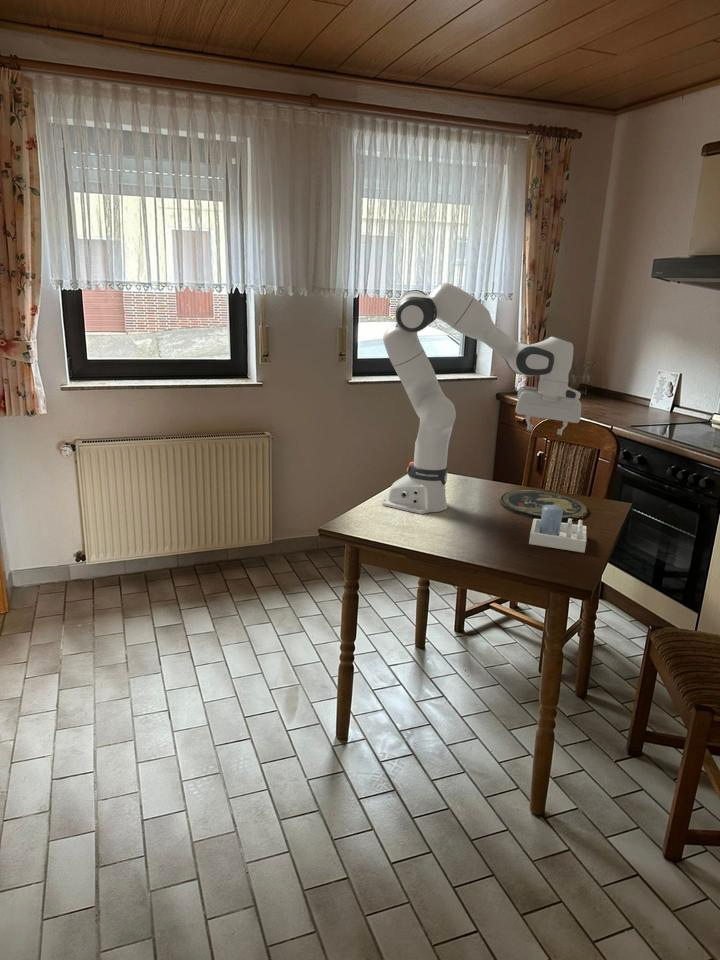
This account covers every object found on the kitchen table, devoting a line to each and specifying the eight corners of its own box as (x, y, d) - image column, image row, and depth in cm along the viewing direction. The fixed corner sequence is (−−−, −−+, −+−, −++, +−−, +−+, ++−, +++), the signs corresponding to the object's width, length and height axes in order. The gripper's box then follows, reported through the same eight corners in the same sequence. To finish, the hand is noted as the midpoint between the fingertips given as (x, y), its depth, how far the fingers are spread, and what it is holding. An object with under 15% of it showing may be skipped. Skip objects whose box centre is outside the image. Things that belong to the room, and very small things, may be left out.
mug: (538, 539, 202) (541, 511, 200) (539, 530, 209) (543, 503, 207) (558, 542, 201) (562, 514, 198) (559, 533, 208) (563, 506, 205)
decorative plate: (500, 511, 224) (500, 485, 252) (499, 516, 225) (499, 490, 253) (593, 522, 219) (582, 495, 247) (592, 527, 220) (582, 499, 248)
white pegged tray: (528, 543, 201) (531, 525, 199) (532, 528, 214) (534, 510, 212) (584, 552, 197) (587, 533, 195) (584, 536, 209) (587, 518, 208)
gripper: (518, 385, 212) (510, 428, 216) (585, 395, 206) (576, 439, 210) (520, 384, 218) (512, 426, 221) (585, 393, 212) (576, 436, 215)
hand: (544, 432), depth 215 cm, fingers open, 8 cm apart
